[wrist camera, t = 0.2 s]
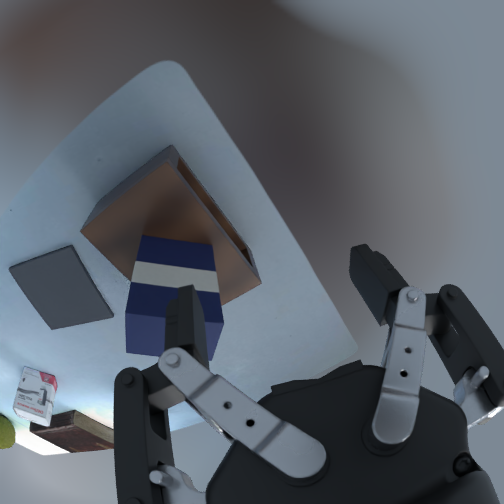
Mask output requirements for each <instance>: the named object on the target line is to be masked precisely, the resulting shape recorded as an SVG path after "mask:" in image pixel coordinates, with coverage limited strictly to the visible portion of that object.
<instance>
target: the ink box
mask: <svg viewBox="0 0 504 504" xmlns="http://www.w3.org/2000/svg"><path fill="white" fill-rule="evenodd" d="M56 390H57V382H56V379H55V376H52V375H49V374H46V373H43V372H39V371H37V370H33V369H30V368H28V367H24V370H23V373H22V376H21V379H20V382H19V386H18V389H17V393H16V397H15V400H14V404H13V409H14V411H15V413H16V414H17V415H18V416H19V417H21V418H23V419H26V420H29V421H31V422H34V423H37V424H40V425H43V426H47V427H48V426H50V421H51V415H52V410H53V404H54V399H55V394H56Z"/></svg>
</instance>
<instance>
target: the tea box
mask: <svg viewBox="0 0 504 504" xmlns="http://www.w3.org/2000/svg"><path fill="white" fill-rule="evenodd" d="M191 284H193V285H194V287H195V290H196V292H197V295H198V298H199V300H200V303H201V306H202V309H203V313H204V320H205V331H206V341H207V351H208V360H209V361H212V358H213V355H214V352H215V349H216V346H217V343H218V340H219V337H220V334H221V331H222V328H223V325H224V320H223V314H222V307H221V301H220V294H219V287H218V280H217V273H216V267H215V260H214V252H213V245H207V244H200V243H193V242H187V241H180V240H173V239H166V238H159V237H152V236H145V235H142V237H141V241H140V245H139V249H138V253H137V257H136V262H135V265H134V270H133V275H132V279H131V285H130V290H129V295H128V300H127V306H126V311H125V329H126V353H133V354H141V355H149V356H158V357H160V356H161V354H162V353H163V352H164V345H165V318H166V317H165V316H166V307H167V305H168V303H169V301H170V300H172V299H177V298H178V287H182V286H187V285H191Z"/></svg>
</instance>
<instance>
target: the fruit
mask: <svg viewBox="0 0 504 504" xmlns="http://www.w3.org/2000/svg"><path fill="white" fill-rule="evenodd" d="M14 443H15V429H14V427H13V425H12V423H11V422H10V421H8V419H7V418H5V417H4V416H1V415H0V449H5V448H10V447H12V445H13V444H14Z"/></svg>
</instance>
